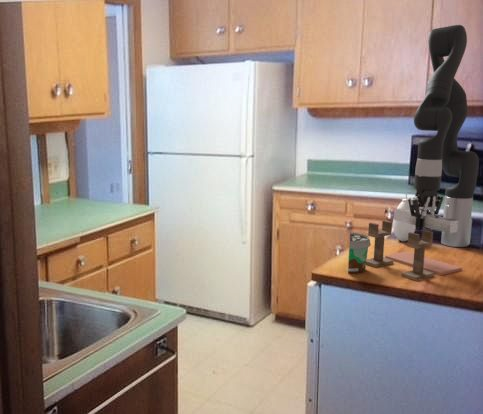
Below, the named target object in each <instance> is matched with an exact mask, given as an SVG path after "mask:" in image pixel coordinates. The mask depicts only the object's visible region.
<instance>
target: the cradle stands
mask: <svg viewBox="0 0 483 414" xmlns="http://www.w3.org/2000/svg"><path fill="white" fill-rule="evenodd" d="M381 223H382V224H381V230H379V227H380V226H379V224H378V223H375V222H368V233H367V236H368V237H371V238H374V247H373V248H374V250H373V258H368V259H367V260H366V266H370V267H372V268H379V267H383V266H384V267H385V266H387V265H391V264H392V265H393V264H394V261H393V260H390V259H387V258H385V256H384V251H385V247H384V246H385V237H387V236H391V235H392V232H393V230H392V229H393V221H390V220H389V221H388V220H382V222H381ZM433 239H434V232H433V231H430V230H428V229H423V230H422V231H421V240H420V234H419V233H415V232H414V233H411V232H410V233H408V240H407V247H408V248H412V249H414V251H413V254H414V262H413V267H412V270H408V271H405V272H401V277H403V278H406V279H409V280H411V281H415V282H417V281H421V280H425V279H429V278H432V277H435V273H432V272H429V271H426V270H423V266H424V257H425V252H426V251H425V250H426V248H428V247H432V246H433Z"/></svg>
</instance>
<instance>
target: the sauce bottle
mask: <svg viewBox="0 0 483 414" xmlns="http://www.w3.org/2000/svg"><path fill="white" fill-rule="evenodd" d="M408 200H409V198H408V192H407V191H406V192H405V198H402V199H401V202H400V203H399V204H398V206H397V208H396V209H401V208H402V209H407V210H410V207H409V202H408ZM393 219H394V217H393ZM393 219H392V229H393V230H392V231H393V233H394V236H395V238H397V239H398V240H399V241H401V242H407V241H408V233H410V232H411V233H415V231H416V228H415V225H413V224H408V223H404V222H400V221H396V220H393Z"/></svg>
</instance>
